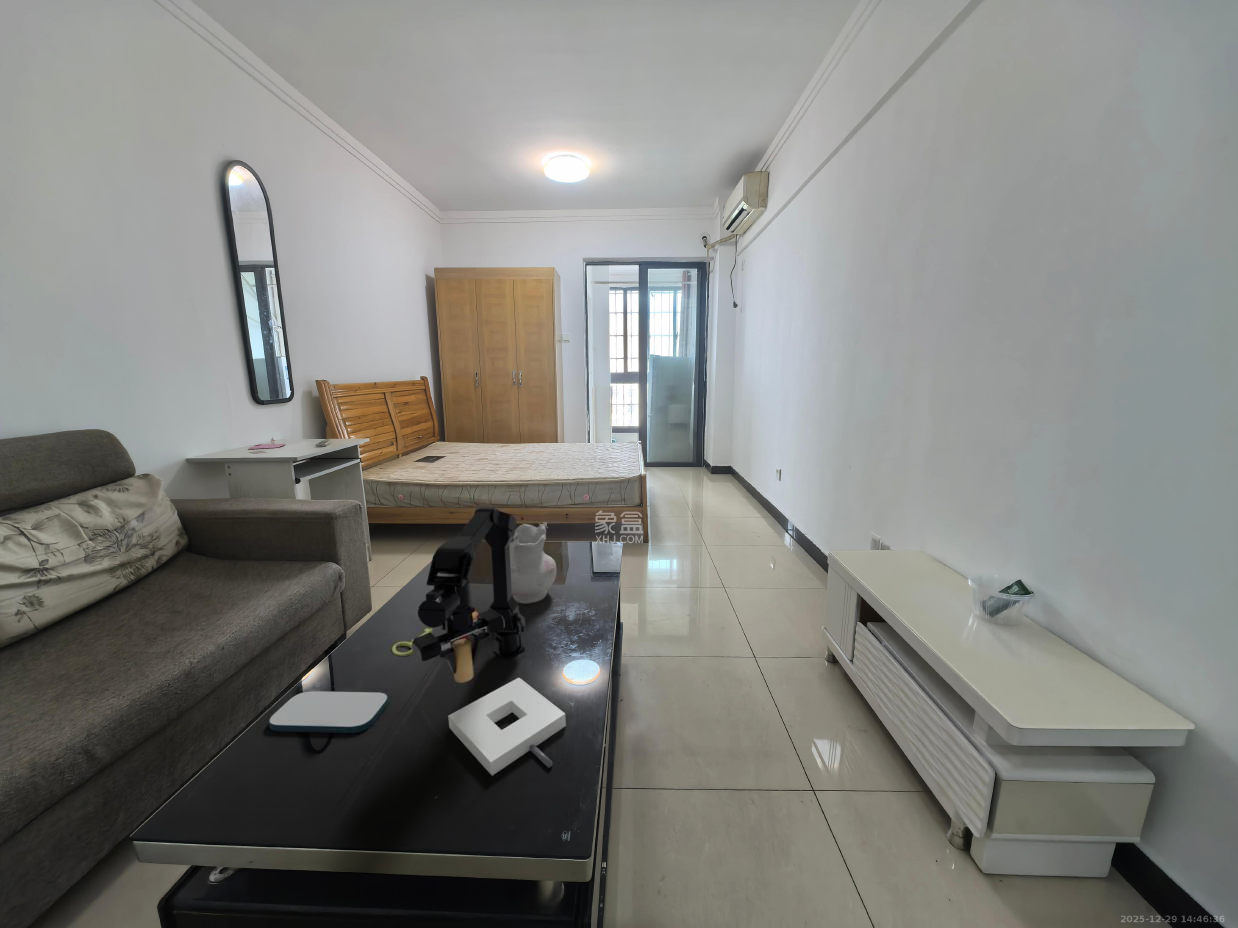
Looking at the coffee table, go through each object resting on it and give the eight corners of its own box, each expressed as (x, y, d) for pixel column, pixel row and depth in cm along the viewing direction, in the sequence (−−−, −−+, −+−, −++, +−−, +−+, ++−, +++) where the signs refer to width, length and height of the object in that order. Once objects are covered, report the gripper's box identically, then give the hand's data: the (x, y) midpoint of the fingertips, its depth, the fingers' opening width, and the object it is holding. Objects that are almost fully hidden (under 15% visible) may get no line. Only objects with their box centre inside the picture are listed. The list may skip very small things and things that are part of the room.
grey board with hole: (519, 688, 116) (519, 677, 115) (585, 741, 98) (584, 728, 98) (449, 727, 103) (448, 715, 103) (510, 796, 86) (509, 782, 85)
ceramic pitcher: (549, 615, 152) (551, 542, 147) (489, 611, 152) (489, 538, 148) (559, 586, 173) (561, 521, 169) (506, 582, 174) (507, 517, 169)
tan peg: (468, 668, 107) (465, 636, 106) (476, 676, 104) (473, 643, 103) (451, 676, 105) (448, 643, 103) (459, 684, 102) (456, 651, 100)
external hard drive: (394, 699, 113) (393, 692, 113) (366, 735, 102) (365, 727, 102) (300, 697, 115) (298, 690, 114) (262, 733, 103) (260, 725, 103)
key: (435, 634, 142) (434, 627, 141) (409, 658, 130) (408, 651, 129) (414, 631, 143) (413, 625, 143) (386, 655, 131) (385, 648, 131)
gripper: (479, 578, 113) (484, 637, 116) (398, 605, 101) (406, 670, 104) (503, 593, 105) (508, 656, 108) (418, 624, 93) (426, 694, 96)
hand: (463, 668), depth 104 cm, fingers closed on tan peg, 4 cm apart
